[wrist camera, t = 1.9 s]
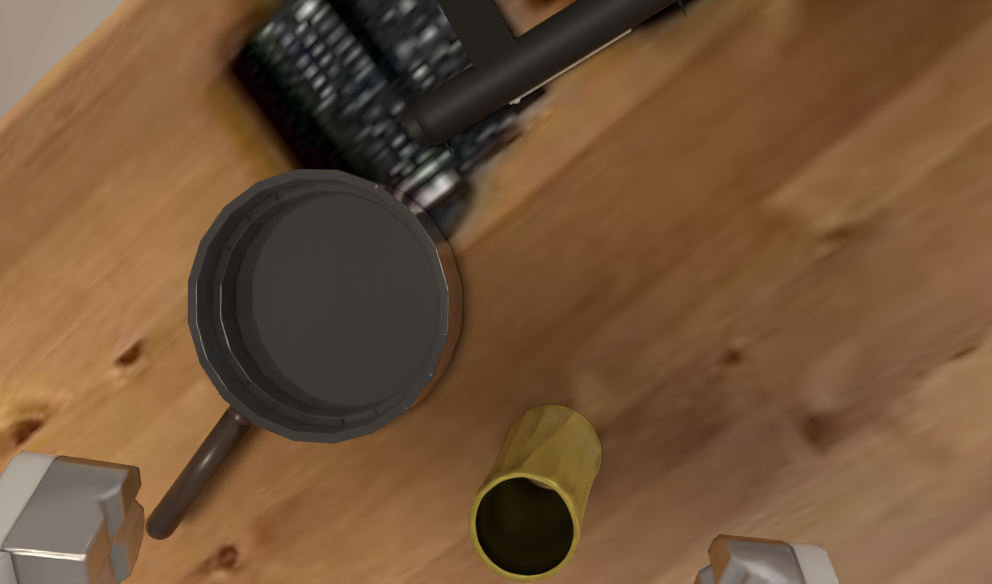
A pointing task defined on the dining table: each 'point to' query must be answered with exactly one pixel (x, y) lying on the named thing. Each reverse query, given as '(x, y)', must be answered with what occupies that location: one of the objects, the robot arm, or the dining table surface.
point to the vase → (536, 494)
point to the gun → (516, 59)
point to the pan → (324, 304)
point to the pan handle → (197, 474)
